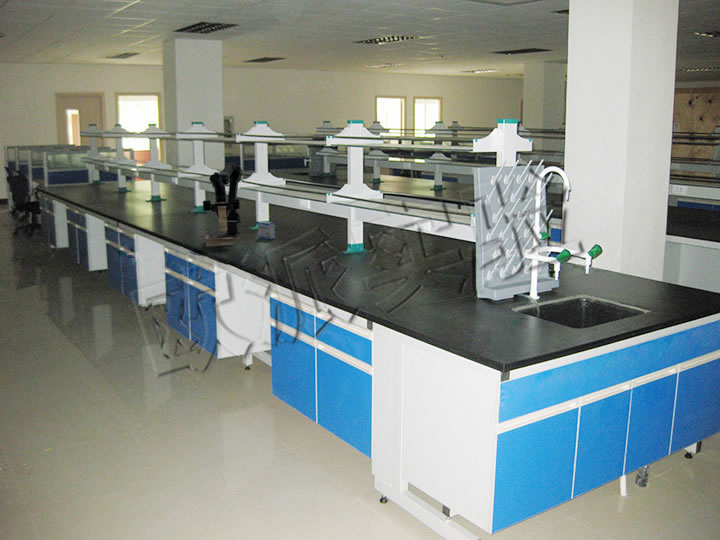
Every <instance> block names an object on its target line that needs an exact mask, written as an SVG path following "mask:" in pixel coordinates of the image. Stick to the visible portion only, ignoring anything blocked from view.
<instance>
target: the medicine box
mask: <svg viewBox="0 0 720 540" xmlns="http://www.w3.org/2000/svg"><path fill="white" fill-rule="evenodd" d="M257 231H258V232H257V233H258V239H261V240H263V239H264V240H274V239H276V234H275V233H276V231H275V222H271V221H270V222H269V221H260V222H257Z"/></svg>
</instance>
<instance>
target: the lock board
mask: <svg viewBox="0 0 720 540" xmlns="http://www.w3.org/2000/svg"><path fill="white" fill-rule="evenodd" d="M204 239H205V247H206V248H207V247H221V246H222V247H223V246H224V247H225V246H234V244H235V243H234V237H233V236H232V237H219V238H217V237H216V238H210V236H209V234H206V235H205V238H204Z"/></svg>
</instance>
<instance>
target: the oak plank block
mask: <svg viewBox="0 0 720 540" xmlns="http://www.w3.org/2000/svg"><path fill="white" fill-rule="evenodd" d="M218 216H219V218H218V228H219V232H221V231H227V216H226V206H221V207H218Z"/></svg>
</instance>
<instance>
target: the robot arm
mask: <svg viewBox="0 0 720 540" xmlns="http://www.w3.org/2000/svg"><path fill="white" fill-rule="evenodd" d="M243 173H244V171H243V169H242V168H241V166H239V165H237V164H236V162H235V163H234V162H227V163H225V165H224V167H223V169H222V170H221V171H220V172H217V171H215V172H214V171H213V174H211V175H210V176H209V179H208V180H209V181H210V183H211V186H212V188H213V189H214V200H215V201H211V200H209V199H208V200H207V199H206V200H203V201H202V211H204V212H213V213H214V214H215V216H216V218H217V219H219V216H218V207H221V206H226V216H227V230H226V232H224V234H226V235H237V234H240V233H241V231H239V224H240V223H241V222H242V220H241V216H240V214H239V210H240V209H241V208H240V207H241V203H240V199H239V198H237V196H238V185H239V183H240V181H241V180H242V176H243ZM226 186H229V187H228V195H227V191H226Z"/></svg>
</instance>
